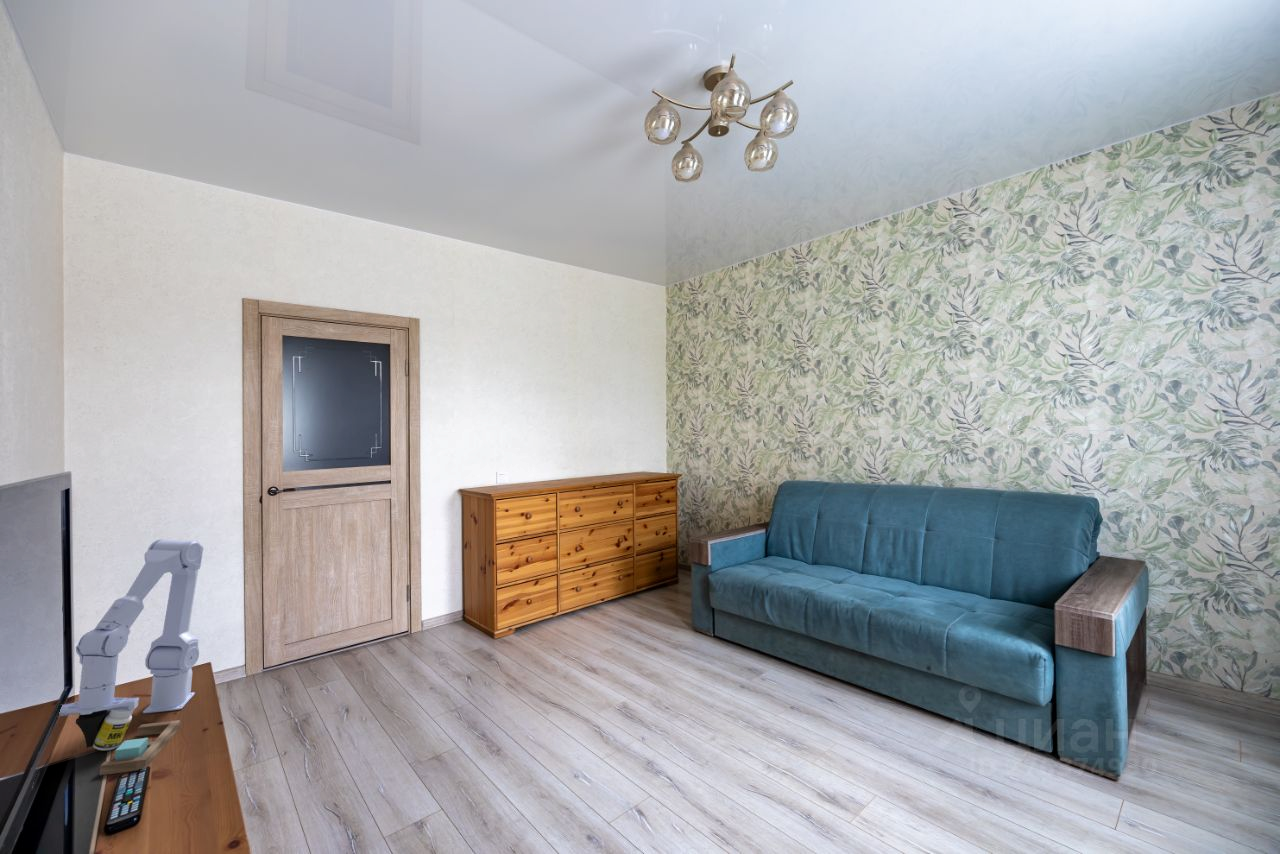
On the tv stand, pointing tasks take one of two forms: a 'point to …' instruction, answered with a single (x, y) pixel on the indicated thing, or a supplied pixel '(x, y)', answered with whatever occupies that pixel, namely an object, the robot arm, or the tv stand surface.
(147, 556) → the robot arm
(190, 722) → the tv stand surface
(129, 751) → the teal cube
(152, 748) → the frame
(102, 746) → the supplement bottle
